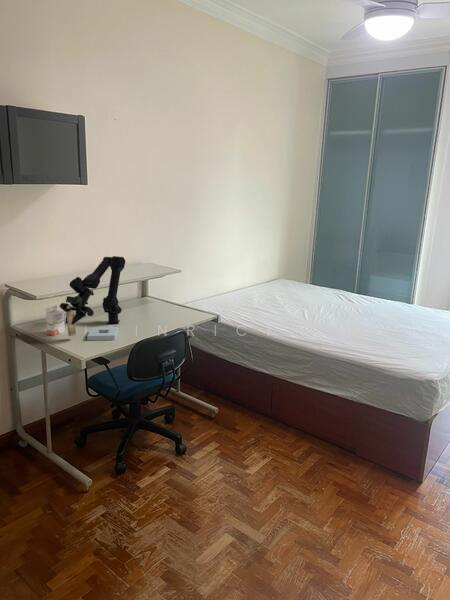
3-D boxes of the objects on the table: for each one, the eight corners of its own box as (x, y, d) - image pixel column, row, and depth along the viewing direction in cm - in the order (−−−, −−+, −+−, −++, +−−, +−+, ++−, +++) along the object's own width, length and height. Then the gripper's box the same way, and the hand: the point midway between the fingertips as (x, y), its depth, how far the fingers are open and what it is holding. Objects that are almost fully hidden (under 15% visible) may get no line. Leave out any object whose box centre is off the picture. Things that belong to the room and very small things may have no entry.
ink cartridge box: (54, 336, 236) (51, 309, 233) (46, 334, 238) (44, 308, 235) (65, 331, 244) (63, 305, 240) (58, 330, 246) (56, 304, 242)
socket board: (92, 332, 244) (92, 327, 243) (118, 331, 245) (118, 327, 245) (87, 340, 231) (87, 335, 230) (114, 340, 232) (114, 335, 231)
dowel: (69, 333, 232) (67, 310, 229) (76, 333, 233) (74, 310, 230) (67, 336, 229) (65, 312, 226) (74, 335, 229) (73, 312, 226)
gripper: (60, 287, 232) (46, 313, 225) (88, 291, 225) (74, 318, 218) (72, 299, 241) (58, 323, 234) (99, 303, 234) (86, 328, 227)
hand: (69, 323), depth 228 cm, fingers closed on dowel, 4 cm apart
